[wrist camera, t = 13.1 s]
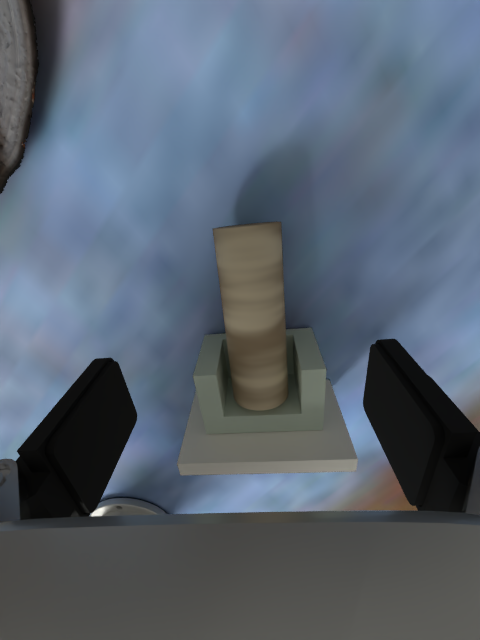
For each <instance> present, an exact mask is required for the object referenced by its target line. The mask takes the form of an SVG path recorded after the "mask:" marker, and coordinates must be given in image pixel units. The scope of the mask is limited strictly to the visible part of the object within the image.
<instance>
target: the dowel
mask: <svg viewBox="0 0 480 640" xmlns="http://www.w3.org/2000/svg"><path fill="white" fill-rule="evenodd" d="M213 236H214V244H215V252H216V260H217V268H218V276H219V284H220V292H221V300H222V308H223V315H224V323H225V331H226V339H227V347H228V355H229V363H230V371H231V379H232V387H233V395H234V399H235V401H236V402H237V403H238V404H239V405H240V406H242V407H244V408H246V409H249V410H256V411H262V410H269V409H273V408H275V407H278V406H280V405H281V404H282V403H284V402H285V400H286V399H287V397H288V372H287V348H286V325H285V301H284V277H283V254H282V230H281V222H264V223H252V224H242V225H234V226H226V227H219V228H214V229H213Z"/></svg>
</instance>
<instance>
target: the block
mask: <svg viewBox="0 0 480 640" xmlns="http://www.w3.org/2000/svg"><path fill="white" fill-rule="evenodd" d="M286 348H287V372H288V397H287V399H286V400H285V402H284V403H282V404H281V405H280V406H278V407H275V408H273V409H269V410H262V411H256V410H249V409H246V408H244V407H242V406H240V405H239V404H238V403H237V402H236V401H235V399H234V395H233V387H232V379H231V371H230V363H229V355H228V347H227V339H226V333H224V334H209V335H205V336H204V339H203V343H202V346H201V350H200V353H199V357H198V360H197V363H196V367H195V370H194V374H193V379H194V383H195V388H196V392H197V396H198V400H199V405H200V409H201V413H202V417H203V422H204V426H205V430H206V434H223V433H251V432H279V431H308V430H323V422H324V404H325V386H326V366H325V364H324V361H323V358H322V355H321V353H320V350H319V347H318V344H317V341H316V339H315V336H314V333H313V330H312V328H299V329H286Z"/></svg>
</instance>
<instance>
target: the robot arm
mask: <svg viewBox="0 0 480 640" xmlns="http://www.w3.org/2000/svg"><path fill="white" fill-rule="evenodd" d="M363 406H364V410H365V412H366V415H367V417H368V419H369V421H370V423H371V425H372V427H373V429H374V431H375V433H376V435H377V438H378V440H379V442H380V444H381V446H382V448H383V450H384V452H385V454H386V456H387V458H388V460H389V463H390V465H391V467H392V469H393V471H394V473H395V475H396V477H397V479H398V481H399V483H400V485H401V488H402V490H403V492H404V494H405V496H406V498H407V500H408V502H409V503H410V504H411V505H412V506H415V505H416V507H417V509H418V511H309V512H252V513H204V514H167V513H165V512H164V511H163V510H162V509H160V508H159V507H157V506H155V505H153V504H151V503H148V502H145V501H142V500H137V499H131V498H113V499H108V500H105V501H102V502H100V500H101V497H102V495H103V493H104V491H105V489H106V487H107V484H108V482H109V480H110V478H111V476H112V474H113V471H114V469H115V467H116V465H117V463H118V461H119V458H120V456H121V454H122V452H123V450H124V448H125V445H126V443H127V441H128V439H129V437H130V434H131V432H132V430H133V428H134V426H135V424H136V421H137V412H136V409H135V407H134V404H133V401H132V399H131V396H130V393H129V391H128V388H127V385H126V383H125V380H124V377H123V374H122V372H121V369H120V366H119V364H118V362H116V361H114V360H113V359H112V358H101V359H95V360H93V361H92V362H91V364H90V365H89V366H88V367H87V368H86V370H85V371H84V372H83V373H82V374H81V376H80V377H79V378H78V379H77V380H76V381H75V383H74V384H73V385H72V386H71V387H70V389H69V390H68V391H67V392H66V393H65V395H64V396H63V397H62V398H61V399H60V400H59V402H58V403H57V404H56V405H55V406H54V408H53V409H52V410H51V411H50V412H49V413H48V415H47V416H46V417H45V418H44V419H43V421H42V422H41V423H40V424H39V425H38V427H37V428H36V429H35V430H34V431H33V432H32V434H31V435H30V436H29V437H28V438H27V440H26V441H25V442H24V443H23V444H22V446H21V447H20V448H19V449H18V450H17V452H18V453H19V455H20V457H19V458H18V459H17V460H16V461H14V460H12V459H1V460H0V640H480V432H479V431H478V430H477V429H476V428H475V427H474V425H473V424H472V423H471V422H470V421H469V420H468V419H467V418H466V416H465V415H464V414H463V413H462V412H461V411H460V410H459V408H458V407H457V406H456V405H455V404H454V403H453V402H452V401H451V399H450V398H449V397H448V396H447V395H446V394H445V393H444V391H443V390H442V389H441V388H440V387H439V386H438V385H437V384H436V382H435V381H434V380H433V379H432V378H431V377H430V376H428V375H427V374H426V373H425V372H424V371H423V370H422V368H421V367H420V366H419V365H418V364H417V363H416V362H415V360H414V359H413V358H412V357H411V356H410V355H409V354H408V352H407V351H406V350H405V349H404V348H403V347H402V346H401V344H400V343H399V342H398V341H397V340H396V339H383V340H377V341H376V343H375V344H372V345H371V347H370V353H369V361H368V368H367V376H366V383H365V391H364V398H363ZM99 502H100V503H99ZM90 513H91V515H90ZM89 515H90V516H89Z"/></svg>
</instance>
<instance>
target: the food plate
mask: <svg viewBox="0 0 480 640" xmlns="http://www.w3.org/2000/svg"><path fill="white" fill-rule="evenodd" d="M34 19H35V18H34V15H33V10H32V5H31V3H30V0H0V194H1V193H2V191H3V189H4V187H5V186H6V183H7V179H8V178H9V176H10V177H11V175H12V174H13V173H14V171H15V170H16V169H18V168H19V167H20V163H21V162H22V160H21V159H23V157H24V156H23V155H24V154H23V153H24V151H25V150H24V149H25V144H24V143H25V142H27V141H26V140H25V139H27V138H28V133H29V127H30V123H31V122H30V120H31V117H32V108H33V104H34V94H35V85H36V76H37V73H38V67H39V60H38V50H37V43H36V40H37V38H36V33H35V32H36V28H35V25H34V23H35V21H34Z"/></svg>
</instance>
